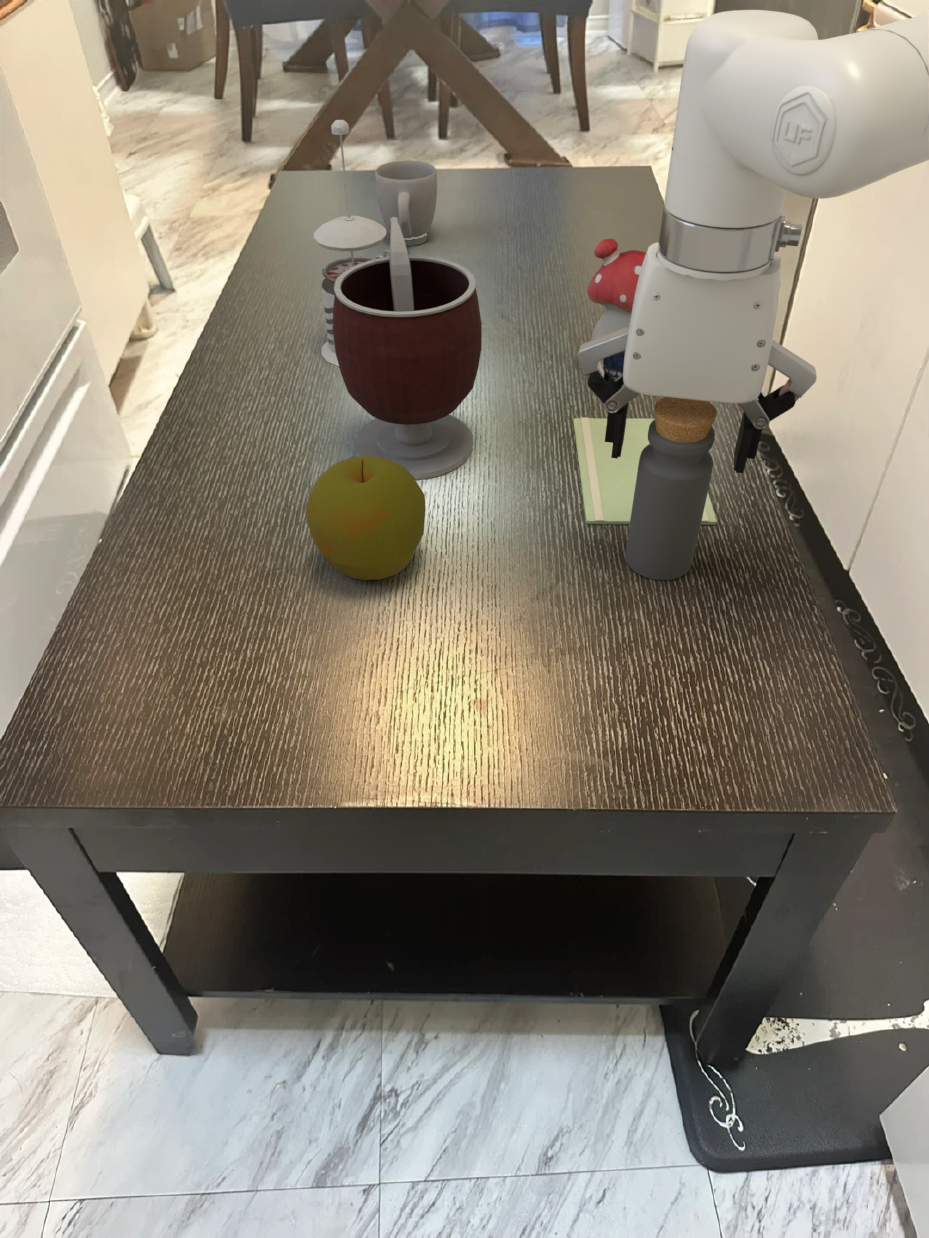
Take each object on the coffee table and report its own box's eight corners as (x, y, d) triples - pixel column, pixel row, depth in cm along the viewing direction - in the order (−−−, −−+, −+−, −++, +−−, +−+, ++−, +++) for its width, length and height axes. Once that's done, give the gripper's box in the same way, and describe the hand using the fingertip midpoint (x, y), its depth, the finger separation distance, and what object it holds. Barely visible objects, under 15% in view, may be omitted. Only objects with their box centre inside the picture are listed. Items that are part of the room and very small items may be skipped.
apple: (423, 525, 82) (418, 421, 75) (433, 594, 75) (428, 487, 68) (315, 533, 81) (298, 430, 74) (315, 604, 74) (296, 498, 67)
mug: (382, 228, 136) (377, 160, 129) (439, 228, 136) (438, 160, 129) (375, 259, 127) (369, 188, 120) (436, 259, 127) (434, 188, 120)
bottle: (617, 572, 77) (639, 420, 67) (634, 533, 81) (656, 384, 71) (684, 588, 75) (717, 435, 65) (698, 547, 79) (730, 398, 69)
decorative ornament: (571, 373, 102) (582, 242, 92) (600, 352, 106) (613, 223, 96) (643, 397, 98) (663, 262, 88) (670, 373, 102) (692, 241, 92)
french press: (350, 324, 112) (327, 102, 95) (429, 344, 108) (420, 116, 91) (304, 357, 106) (271, 126, 89) (386, 379, 102) (368, 142, 85)
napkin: (716, 525, 82) (717, 520, 81) (586, 524, 82) (586, 520, 82) (685, 421, 95) (686, 417, 94) (572, 421, 95) (573, 417, 95)
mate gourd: (491, 477, 88) (494, 277, 74) (351, 490, 86) (327, 289, 72) (467, 398, 99) (465, 211, 85) (342, 409, 97) (320, 221, 83)
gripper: (849, 226, 60) (788, 443, 72) (594, 208, 63) (576, 420, 75) (858, 270, 55) (791, 497, 67) (579, 248, 58) (562, 469, 70)
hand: (677, 456), depth 71 cm, fingers open, 9 cm apart
